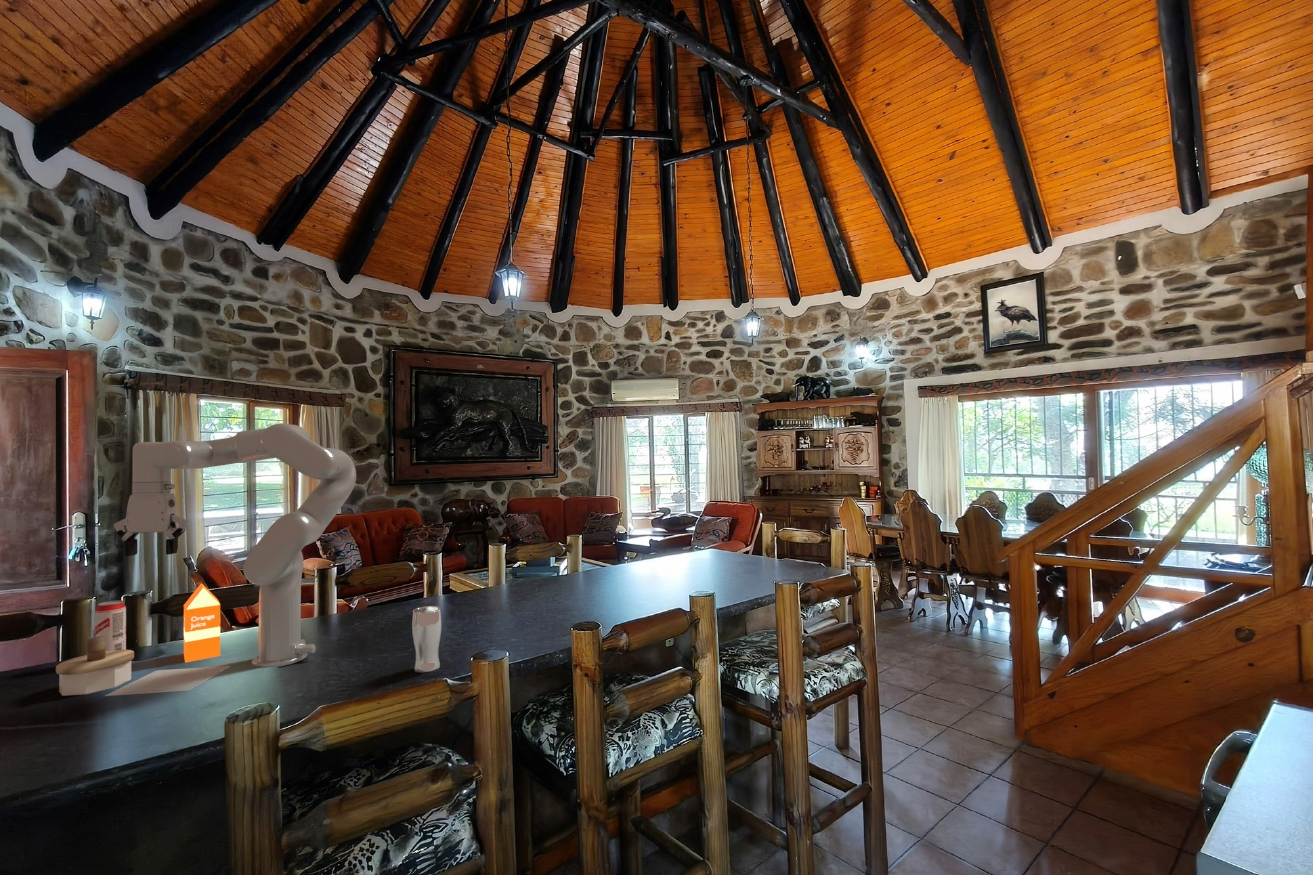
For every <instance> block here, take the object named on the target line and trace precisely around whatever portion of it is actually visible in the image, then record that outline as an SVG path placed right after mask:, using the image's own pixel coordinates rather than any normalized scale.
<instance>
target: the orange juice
mask: <svg viewBox="0 0 1313 875" xmlns="http://www.w3.org/2000/svg"><path fill="white" fill-rule="evenodd" d="M219 656H220V657H221V603H220V601H219V599H218V598H217V596H215V595H214V594H213V593H212V592H211V591H210V590H209V589H208V588H207V587H206V586H205V584H203V583H202V582H201V583H200V584H199V585H198V587H197V588H196V589H195V590H194V591H193V593H192V594H191V595H190V597H189V598H188V599H187V601H186V602H185V603H184V604H183V658H184V663H189V662H194V661H200V660H201V661H202V660H204V659H205V660H206V659H210V658H214V657H219Z"/></svg>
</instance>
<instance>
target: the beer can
mask: <svg viewBox="0 0 1313 875" xmlns="http://www.w3.org/2000/svg"><path fill="white" fill-rule="evenodd" d="M101 636H105V637H106V651H112V650H127V606H126V605H125V603H124V600H121V599H119V600H109V601H104V602H100V603H98V604H97V607H96V609H95V611H94V637H101Z"/></svg>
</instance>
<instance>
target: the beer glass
mask: <svg viewBox="0 0 1313 875" xmlns="http://www.w3.org/2000/svg"><path fill="white" fill-rule="evenodd" d="M411 626H412V627H411V629H412V630H411V631H412V632H411V633H412V638H413V644H414V645H413V646H414V649H415V662H414V663H415V664H414V672H416V673H429V672H434V671H436V670H438V669H439V668H440V666H441V663H440V659H439V648H440V647H439V646H440V641H441V636H442V635H441V633H442V614H441V607H440V606H438V605H428V606H425V605H424V606H421V607H420V606H419V607H416V608H415V609H413V610H412V624H411Z"/></svg>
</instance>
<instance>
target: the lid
mask: <svg viewBox="0 0 1313 875" xmlns="http://www.w3.org/2000/svg"><path fill="white" fill-rule="evenodd" d="M86 642H87V643H86V644H87V646H86V647H87V649H86V651H87V652H86V654H85V655H81V656H77V657H73V658H70V659H67V660H64V661H62V662H60V663H58V664H57V665H56V667H55V673H56V674H57V675H59V674H61V675H73V674H83V673H89V672H95V671H100V670H104V669H108V668H112V667H116V666H119V665H122V664H124V663H127V662H129V661H131V662H132V660H134V659H135V651H134V650H132V649H126V650H112V651H106V637H105V636H101V637H95V636H94V637H90V638H88V639H87V640H86Z"/></svg>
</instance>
